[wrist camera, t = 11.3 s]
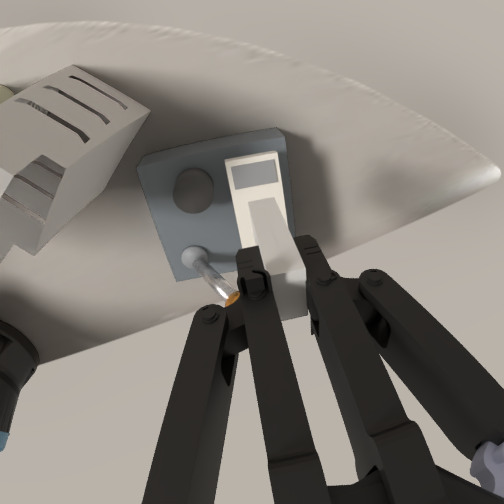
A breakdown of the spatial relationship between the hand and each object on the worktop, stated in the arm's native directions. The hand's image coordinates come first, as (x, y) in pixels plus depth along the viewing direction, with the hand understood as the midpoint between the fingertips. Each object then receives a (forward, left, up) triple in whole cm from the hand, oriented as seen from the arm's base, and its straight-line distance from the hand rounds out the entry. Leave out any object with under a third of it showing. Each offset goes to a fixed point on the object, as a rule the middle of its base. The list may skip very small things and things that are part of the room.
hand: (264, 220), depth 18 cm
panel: (-3, -6, -16) cm, 17 cm away
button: (-5, -2, -12) cm, 13 cm away
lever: (-7, -10, -12) cm, 17 cm away
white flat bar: (0, -5, -9) cm, 10 cm away
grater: (-16, +6, -16) cm, 23 cm away
